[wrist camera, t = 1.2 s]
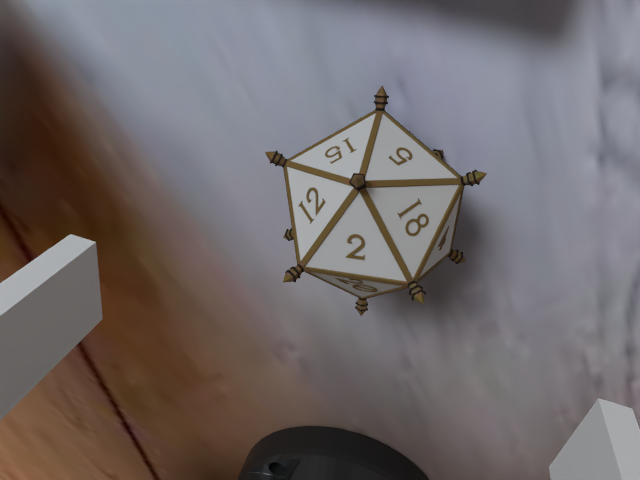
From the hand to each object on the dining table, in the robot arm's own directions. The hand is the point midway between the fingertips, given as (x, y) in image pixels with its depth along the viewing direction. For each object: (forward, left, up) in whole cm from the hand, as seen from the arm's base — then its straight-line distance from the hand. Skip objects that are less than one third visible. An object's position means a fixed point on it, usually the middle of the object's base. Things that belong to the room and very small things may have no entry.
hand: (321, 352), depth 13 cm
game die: (0, 0, -13) cm, 13 cm away
